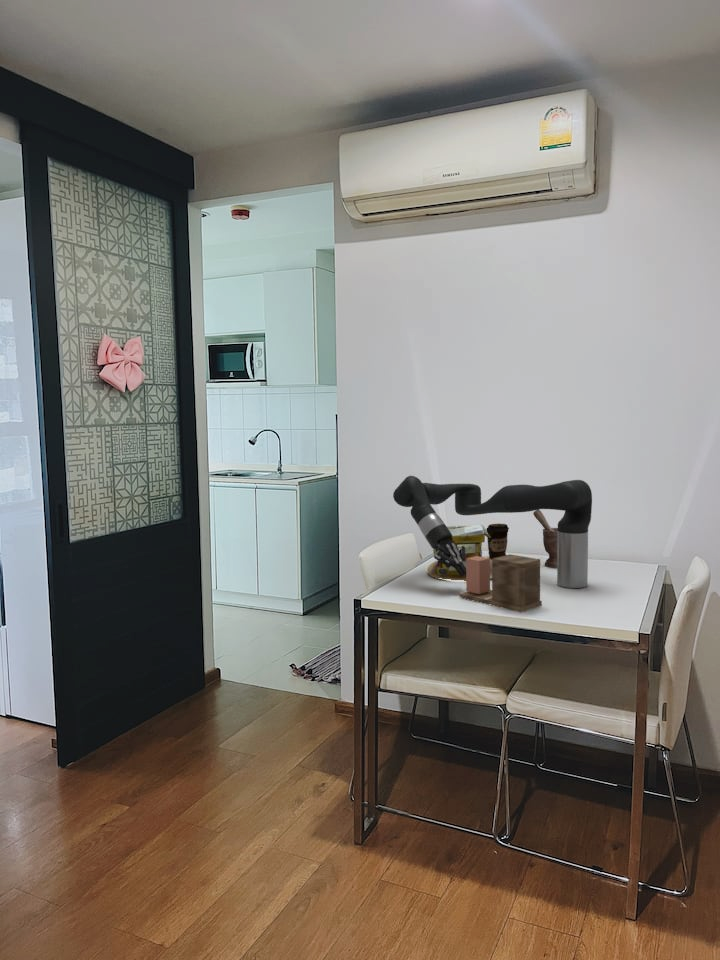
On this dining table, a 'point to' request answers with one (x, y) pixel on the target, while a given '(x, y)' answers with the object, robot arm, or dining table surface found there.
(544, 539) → the mortar and pestle
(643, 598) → the dining table surface
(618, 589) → the dining table surface
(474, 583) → the terracotta plug
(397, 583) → the dining table surface
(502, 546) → the coffee cup
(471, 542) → the stacked packages on board
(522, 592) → the walnut socket base
